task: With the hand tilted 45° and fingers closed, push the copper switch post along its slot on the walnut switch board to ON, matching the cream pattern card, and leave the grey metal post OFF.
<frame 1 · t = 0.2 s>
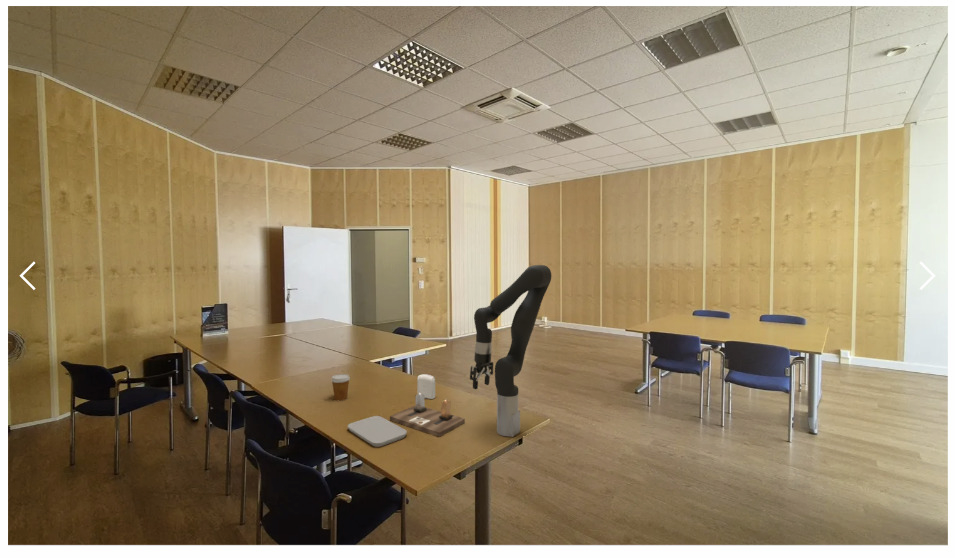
hand: (481, 386, 183), 18 cm above the table, tool pointing down, fingers open, 8 cm apart
grey switch: (420, 401, 195), point 7 cm above the table, slide at 0.0 cm
switch board: (427, 421, 188), on the table
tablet: (376, 434, 176), on the table
copper switch: (445, 408, 186), point 7 cm above the table, slide at 0.0 cm
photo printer: (426, 397, 220), on the table
disposable coffee cup: (340, 398, 217), on the table
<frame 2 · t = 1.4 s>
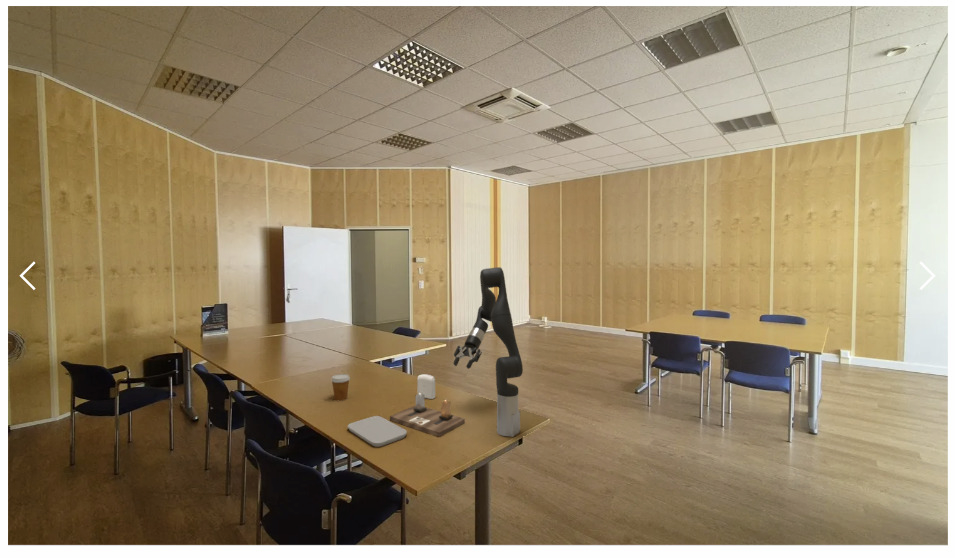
hand: (461, 366, 198), 23 cm above the table, tool tilted 45°, fingers open, 7 cm apart
nothing on the table moved.
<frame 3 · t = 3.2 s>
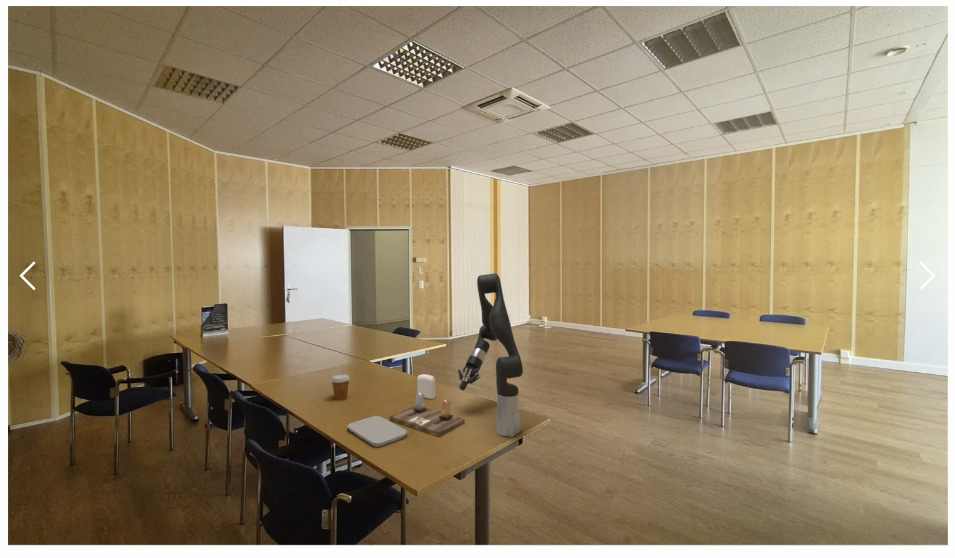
hand: (461, 389, 195), 12 cm above the table, tool tilted 45°, fingers closed
nothing on the table moved.
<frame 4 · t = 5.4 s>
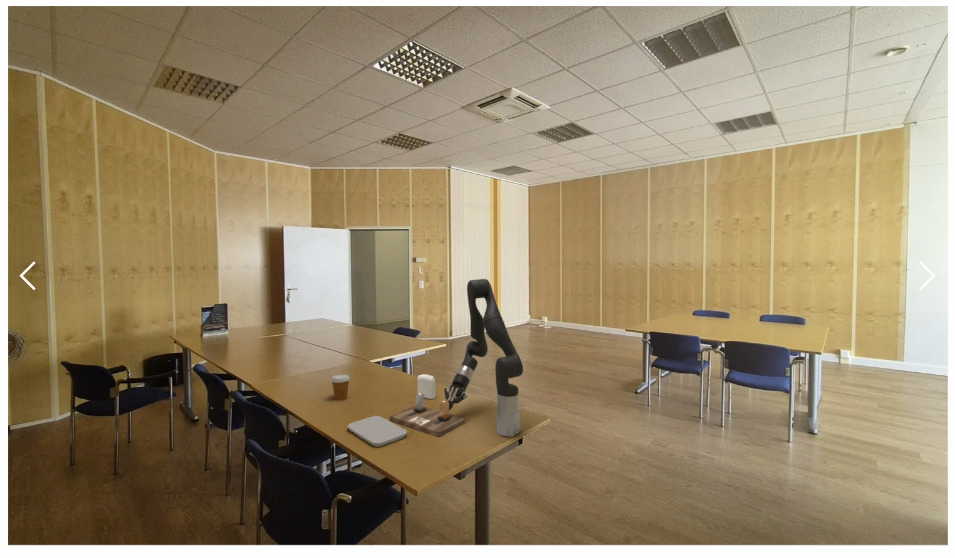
hand: (447, 409, 187), 6 cm above the table, tool tilted 45°, fingers closed
copper switch: (444, 409, 185), point 7 cm above the table, slide at 1.2 cm, touching gripper
everything else where it was.
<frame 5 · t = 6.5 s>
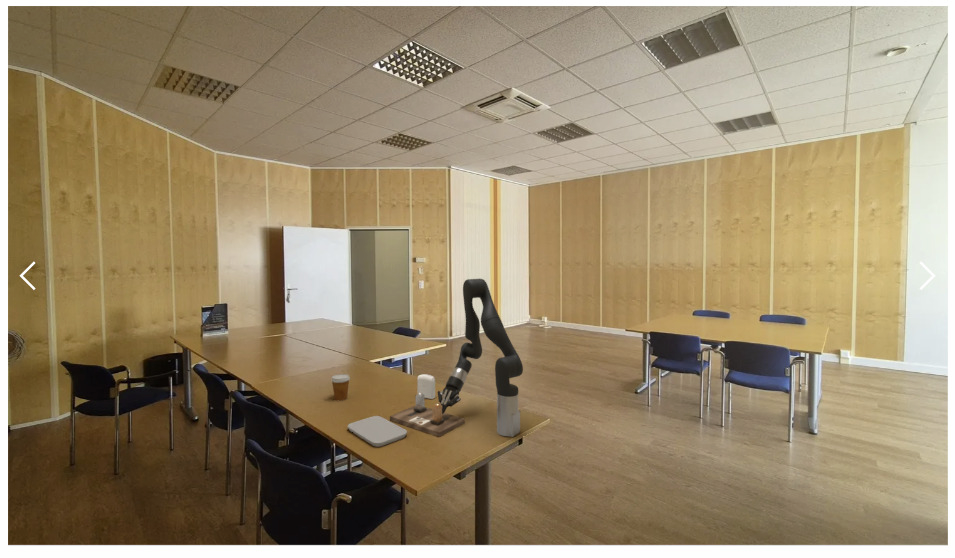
hand: (440, 413, 183), 6 cm above the table, tool tilted 45°, fingers closed
copper switch: (437, 413, 181), point 7 cm above the table, slide at 6.0 cm, touching gripper
everything else where it was.
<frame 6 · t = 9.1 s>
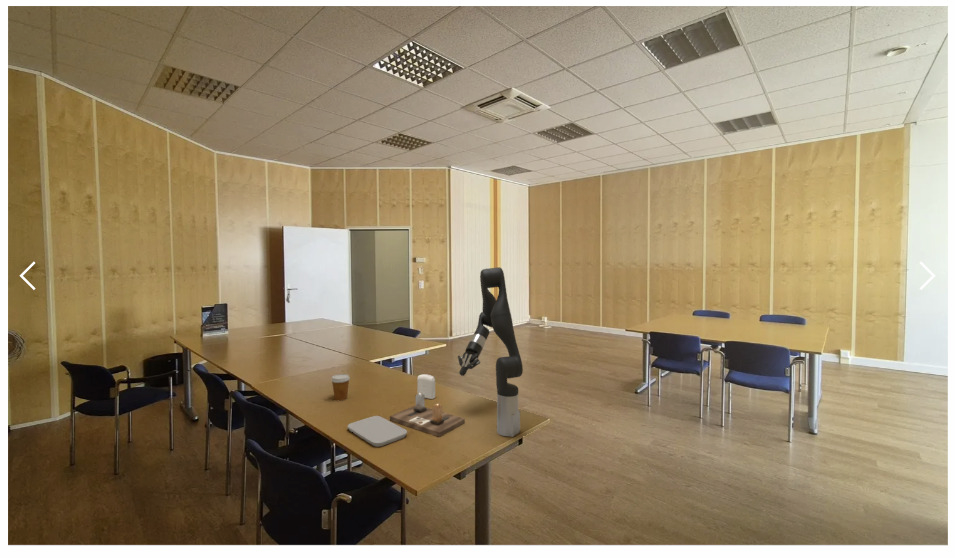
hand: (461, 374, 195), 20 cm above the table, tool tilted 45°, fingers closed
copper switch: (437, 413, 181), point 7 cm above the table, slide at 6.0 cm
everything else where it was.
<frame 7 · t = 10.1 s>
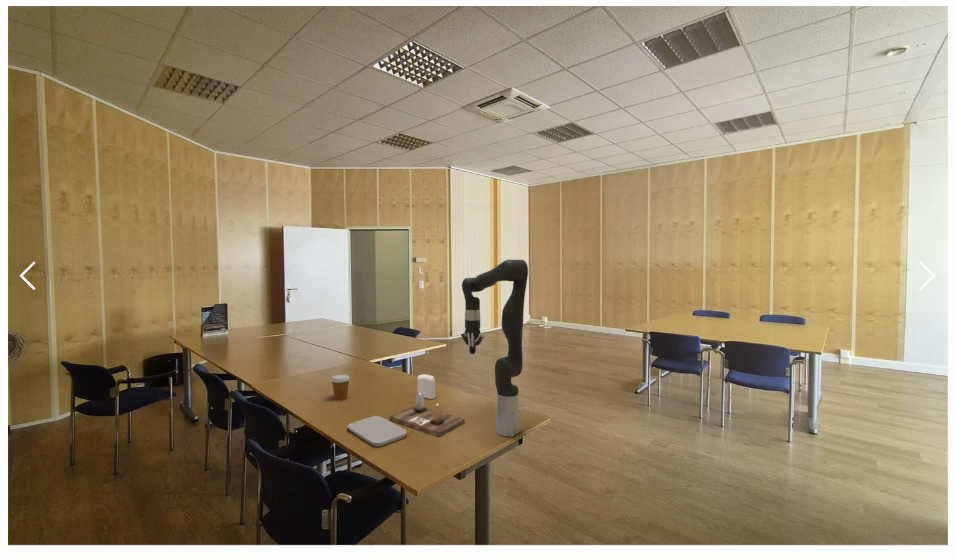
hand: (472, 353, 198), 29 cm above the table, tool pointing down, fingers closed
nothing on the table moved.
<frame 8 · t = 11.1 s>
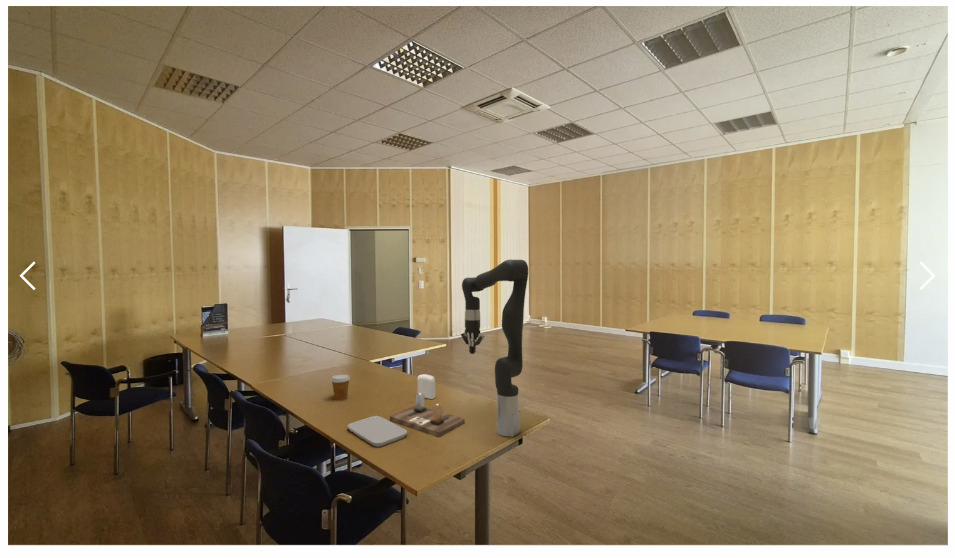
hand: (472, 353, 198), 29 cm above the table, tool pointing down, fingers closed
nothing on the table moved.
at the end: copper switch slide at 6.0 cm; grey switch slide at 0.0 cm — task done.
